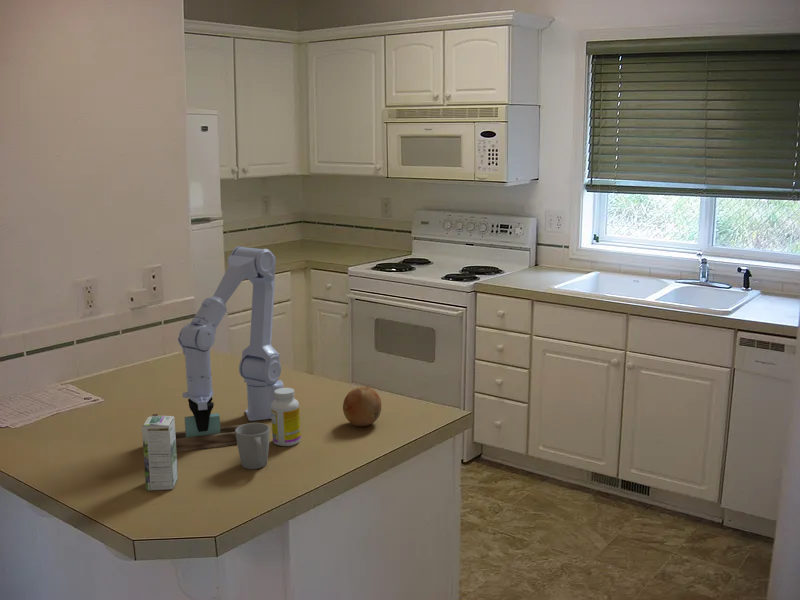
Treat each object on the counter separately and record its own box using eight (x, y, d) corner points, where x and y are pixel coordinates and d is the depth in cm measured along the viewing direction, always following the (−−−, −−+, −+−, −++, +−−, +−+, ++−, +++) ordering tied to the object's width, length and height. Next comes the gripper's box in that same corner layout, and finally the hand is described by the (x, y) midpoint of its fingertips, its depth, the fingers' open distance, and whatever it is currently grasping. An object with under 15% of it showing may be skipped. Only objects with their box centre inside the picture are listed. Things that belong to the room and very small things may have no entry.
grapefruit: (356, 415, 217) (355, 378, 215) (389, 421, 213) (388, 384, 210) (335, 427, 209) (334, 389, 207) (369, 434, 204) (368, 395, 202)
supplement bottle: (305, 438, 203) (303, 387, 200) (293, 448, 196) (291, 396, 194) (280, 435, 205) (278, 385, 202) (267, 445, 199) (265, 393, 196)
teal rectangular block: (220, 436, 203) (218, 413, 201) (221, 439, 201) (219, 415, 200) (186, 440, 200) (184, 416, 199) (186, 443, 199) (184, 419, 197)
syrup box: (151, 479, 181) (146, 415, 178) (179, 478, 181) (174, 414, 178) (145, 491, 175) (140, 425, 172) (174, 489, 176) (169, 424, 173)
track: (243, 431, 207) (242, 404, 206) (247, 443, 200) (246, 415, 198) (154, 442, 201) (152, 414, 200) (155, 454, 194) (152, 426, 192)
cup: (266, 455, 193) (265, 420, 191) (278, 472, 184) (276, 435, 182) (233, 461, 190) (231, 425, 188) (243, 478, 181) (241, 441, 179)
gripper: (179, 367, 203) (183, 420, 206) (182, 385, 189) (187, 442, 192) (209, 364, 205) (213, 417, 208) (214, 382, 191) (218, 438, 194)
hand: (202, 428), depth 200 cm, fingers closed on teal rectangular block, 2 cm apart
